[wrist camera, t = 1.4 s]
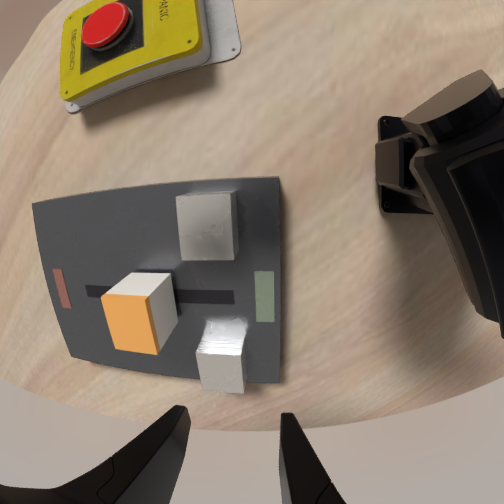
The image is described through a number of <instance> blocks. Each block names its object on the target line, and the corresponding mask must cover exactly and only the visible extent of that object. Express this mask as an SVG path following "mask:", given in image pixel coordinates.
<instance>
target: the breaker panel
mask: <svg viewBox="0 0 504 504" xmlns="http://www.w3.org/2000/svg"><path fill="white" fill-rule="evenodd" d="M32 209H33V216H34V223H35V230H36V236H37V241H38V247H39V252H40V256H41V261H42V266H43V270H44V274H45V278H46V282H47V286H48V289H49V293H50V297H51V300H52V303H53V307H54V310H55V313H56V316H57V319H58V322H59V325H60V328H61V331H62V334H63V336H64V339H65V342H66V344H67V347H68V349H69V352H70V354H71V357H74V358H78V359H82V360H86V361H90V362H95V363H99V364H104V365H108V366H113V367H118V368H123V369H129V370H135V371H140V372H147V373H153V374H160V375H167V376H175V377H183V378H193V379H201V384H202V389H203V391H212V392H225V393H241V394H244V389H245V384H246V382H251V383H280V322H281V276H280V208H279V176H272V177H242V178H222V179H206V180H193V181H180V182H169V183H159V184H150V185H141V186H132V187H124V188H117V189H109V190H102V191H95V192H89V193H83V194H77V195H71V196H65V197H59V198H54V199H49V200H44V201H40V202H36V203H32ZM130 273H171V280H172V286H173V293H174V299H175V305H176V311H177V317H178V323H177V324H176V326H175V328H174V329H173V331H172V332H171V334H170V336H169V337H168V339H167V340H166V342H165V344H164V345H163V347H162V348H161V350H160V352H159V353H158V355H154V354H146V353H139V352H132V351H125V350H119V349H115V346H114V343H113V340H112V336H111V333H110V330H109V326H108V323H107V319H106V316H105V312H104V308H103V305H102V301H101V296H102V295H104V294H105V293H106V292H107V291H109V290H110V289H111V288H112V287H114V286H115V285H116V284H118V283H119V282H120V281H121V280H123V279H124V278H125V277H126V276H128V275H129V274H130Z"/></svg>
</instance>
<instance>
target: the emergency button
mask: <svg viewBox="0 0 504 504" xmlns="http://www.w3.org/2000/svg"><path fill="white" fill-rule="evenodd" d="M240 49H241V44H240V38H239V33H238V27H237V22H236V17H235V11H234V6H233V1H232V0H92V1H91V2H89V3H87V4H85V5H83V6H82V7H80V8H78V9H77V10H75V11H73V12H72V13H70V14H69V15H68V16H67V18H66V19H65V21H64V24H63V32H62V42H61V55H60V77H59V93H60V97H61V98H62V99H63V100H65V107H66V110H67V111H69V112H71V113H73V112H77V111H79V110H81V109H83V108H85V107H87V106H89V105H92V104H94V103H96V102H98V101H100V100H103V99H105V98H107V97H110V96H112V95H114V94H117V93H119V92H122V91H124V90H127V89H130V88H132V87H135V86H138V85H140V84H143V83H146V82H149V81H152V80H155V79H158V78H161V77H164V76H168V75H171V74H174V73H178V72H181V71H185V70H189V69H192V68H196V67H200V66H205V65H209V64H213V63H218V62H223V61H227V60H230V59H232V58H235V57H236V56H237V55H238V54H239V53H240Z"/></svg>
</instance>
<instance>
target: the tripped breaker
mask: <svg viewBox="0 0 504 504" xmlns="http://www.w3.org/2000/svg"><path fill="white" fill-rule="evenodd" d="M101 301H102V305H103V308H104V312H105V316H106V319H107V323H108V326H109V330H110V333H111V336H112V340H113V343H114V346H115V349H119V350H125V351H132V352H139V353H146V354H154V355H158V353H159V352H160V350H161V348H162V347H163V345H164V344H165V342H166V340H167V339H168V337H169V336H170V334H171V332H172V331H173V329H174V328H175V326H176V324H177V323H178V317H177V311H176V305H175V299H174V293H173V286H172V280H171V273H130V274H129V275H128V276H126V277H125V278H124V279H123V280H121V281H120V282H119V283H118V284H116V285H115V286H114V287H112V288H111V289H110V290H109V291H107V292H106V293H105V294H104V295H102V296H101Z"/></svg>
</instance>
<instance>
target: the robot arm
mask: <svg viewBox="0 0 504 504" xmlns="http://www.w3.org/2000/svg"><path fill="white" fill-rule="evenodd" d="M384 120H385V121H387V123H388V126H387V127H386V126H384V124H383V121H384ZM378 137H379V141H378V142H377V143H376V145H375V152H376V182H377V183H378V184H379V207H380V209H381V210H382V211H384V212H387V213H417V214H434V215H435V217H436V219H437V221H438V223H439V226H440V228H441V230H442V232H443V234H444V236H445V239H446V241H447V243H448V246H449V248H450V250H451V253H452V255H453V258H454V260H455V263H456V265H457V268H458V270H459V273H460V276H461V278H462V281H463V284H464V287H465V290H466V292H467V294H468V296H469V298H470V300H471V302H472V304H473V305H474V306H475V310H476V312H478V313H479V314H480V315H482V316H483V317H484V318H486V319H489V320H492V321H495V322H498V323H499V325H500V330H501V337H502V338H503V339H504V88H502V89H500V90H497V88H496V86H495V84H494V83H493V81H492V80H491V79H490V77H489V76H488V75H487V74H486V73H485V72H484V71H483V70H482V69H481V70H478V71H476V72H474V73H471V74H469V75H467V76H465V77H463V78H461V79H459V80H457V81H455V82H453V83H452V84H450V85H449V86H447V87H446V88H444V89H443V90H442V91H440V92H439V93H437V94H436V95H434V96H433V97H432V98H430V99H429V100H427V101H426V102H424V103H423V104H422V105H420V106H419V107H417V108H416V109H414V110H413V111H412V112H410V113H409V114H407V115H406V116H405V117H403V118H399V117H392V116H382V117H381V118H379V120H378ZM387 201H388V202H389V206H388V207H387V208H385V206H384V204H385V202H387ZM190 425H191V420H190V416H189V413H188V410H187V407H186V406H180V405H175V406H173V407H172V408H171V409H170V410H169V411H167V412H166V413H165V414H164V415H163V416H161V417H160V418H159V419H158V420H157V421H155V422H154V423H153V424H152V425H151V426H149V427H148V428H147V429H146V430H144V431H143V432H142V433H141V434H139V435H138V436H137V437H136V438H134V439H133V440H132V441H131V442H129V443H128V444H127V445H125V446H124V447H123V448H121V449H120V450H119V451H118V452H116V453H115V454H114V455H112V457H109V458H108V459H107V460H105V461H104V462H103V463H101V464H100V465H98V466H97V467H95V468H94V469H92V470H90V471H89V472H87V473H85V474H83V475H82V476H80V477H78V478H76V479H74V480H72V481H70V482H68V483H66V484H64V485H62V486H59V487H56V488H52V489H34V488H19V487H9V486H4V485H1V484H0V504H169V502H170V499H171V497H172V493H173V491H174V487H175V484H176V481H177V478H178V476H179V473H180V470H181V467H182V464H183V460H184V457H185V452H186V447H187V441H188V435H189V431H190ZM279 475H280V485H281V495H282V504H346V503H345V501H344V500H343V498H342V497H341V495H340V494H339V492H338V491H337V489H336V487H335V486H334V484H333V483H332V482H331V479H330V478H329V476H328V474H327V472H326V471H325V469H324V467H323V466H322V464H321V462H320V460H319V459H318V457H317V455H316V453H315V452H314V450H313V448H312V446H311V444H310V443H309V441H308V439H307V438H306V436H305V434H304V432H303V430H302V428H301V426H300V425H299V423H298V421H297V419H296V417H295V415H294V414H293V413H282V414H281V424H280V449H279Z"/></svg>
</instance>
